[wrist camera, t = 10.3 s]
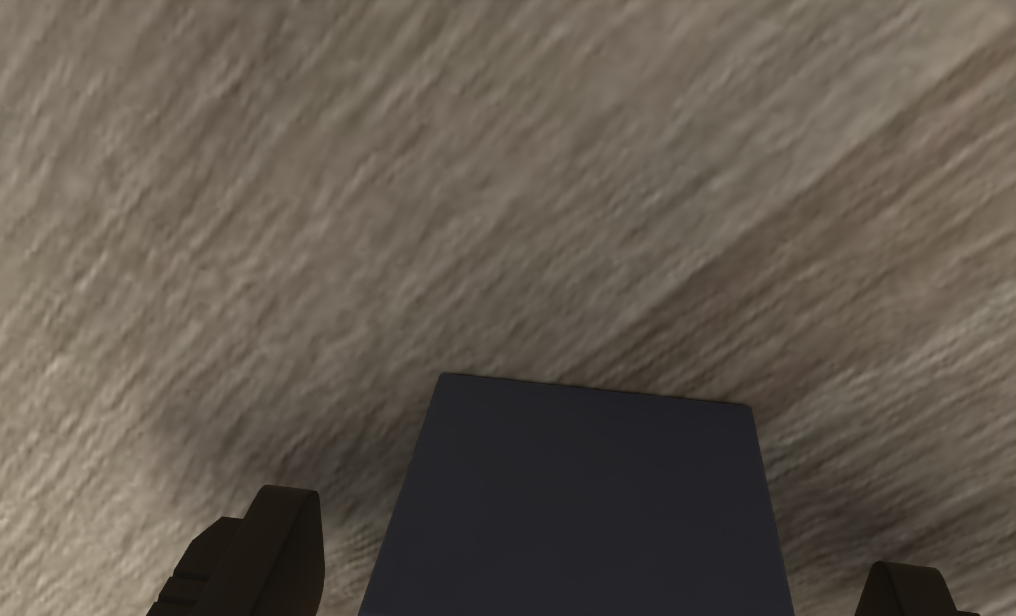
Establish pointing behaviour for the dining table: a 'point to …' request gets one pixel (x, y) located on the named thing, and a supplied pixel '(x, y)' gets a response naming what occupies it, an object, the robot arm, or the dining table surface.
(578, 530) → the block
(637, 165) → the dining table surface
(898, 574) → the robot arm
